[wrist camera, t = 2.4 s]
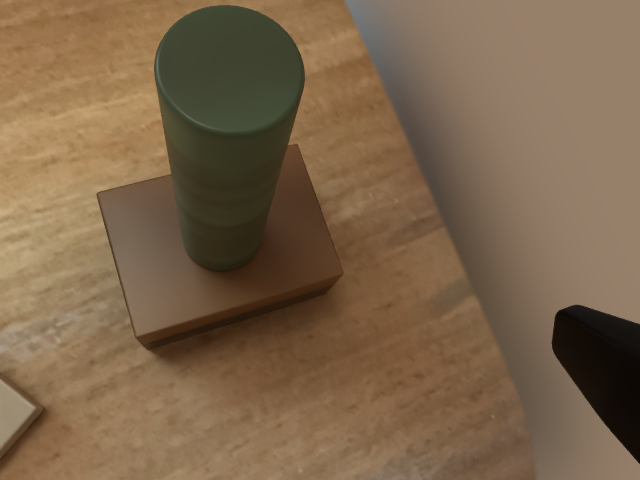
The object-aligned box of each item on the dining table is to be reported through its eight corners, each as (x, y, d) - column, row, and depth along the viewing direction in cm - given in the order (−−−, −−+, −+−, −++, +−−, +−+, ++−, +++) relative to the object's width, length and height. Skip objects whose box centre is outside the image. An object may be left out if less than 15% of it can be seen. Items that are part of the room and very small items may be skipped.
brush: (326, 293, 23) (461, 148, 11) (146, 350, 22) (54, 257, 9) (286, 178, 24) (366, -79, 12) (111, 223, 23) (-15, -20, 10)
